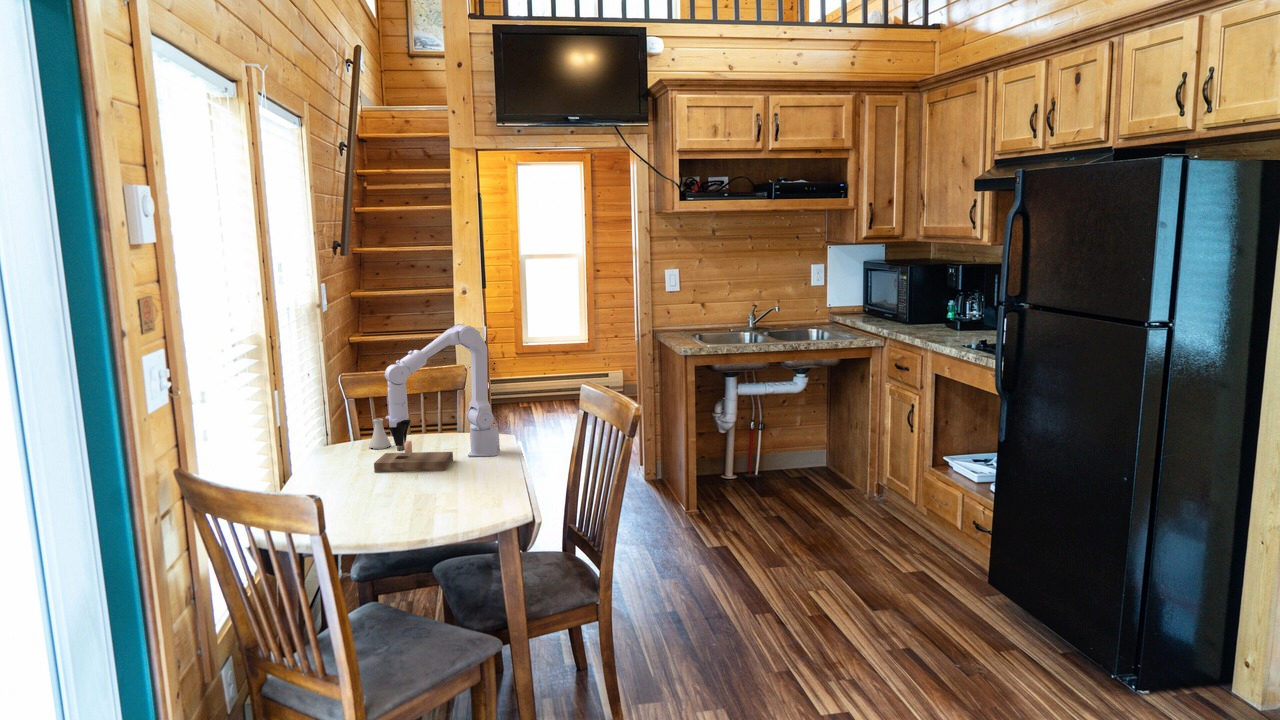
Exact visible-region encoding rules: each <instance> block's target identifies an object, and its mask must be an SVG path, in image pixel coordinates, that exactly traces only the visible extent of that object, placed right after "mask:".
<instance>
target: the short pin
mask: <svg viewBox="0 0 1280 720" xmlns="http://www.w3.org/2000/svg"><path fill="white" fill-rule="evenodd" d="M404 444H405V450H404V453H413V446H412V445H413V444H412V440H406V442H405V443H404Z"/></svg>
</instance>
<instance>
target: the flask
mask: <svg viewBox="0 0 1280 720" xmlns="http://www.w3.org/2000/svg"><path fill="white" fill-rule="evenodd" d="M372 421H373V424H374V428H373V433H372V436H371V440H370V444H369V446H368V449H371V448H373V449H372V450H383V449H388V448H390V447H391V446H392V443H391V442H390V439H389V438H388V435H387V433H386V431H385V428H384V425H383V424H384V423H383V421H384V418H375V419H372ZM390 445H391V446H390ZM389 446H390V447H389ZM387 447H388V448H387Z"/></svg>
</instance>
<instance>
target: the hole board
mask: <svg viewBox="0 0 1280 720" xmlns="http://www.w3.org/2000/svg"><path fill="white" fill-rule="evenodd" d="M453 453H454V452H453V451H423V452H422V451H421V452H420V451H419V452H418V451H417V452H412V453H405V452H386V453H383V454H382V456H380V457H379V458H378V459H377V460H376V461H375V462H373V471H374V473H402V472H404V471H415V472H445V471H446V470H447V469H448V468H449V466H450V465H451V464H452V463H453V461H454V454H453ZM451 462H452V463H451ZM450 463H451V464H450ZM404 473H405V472H404Z"/></svg>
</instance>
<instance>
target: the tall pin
mask: <svg viewBox="0 0 1280 720" xmlns="http://www.w3.org/2000/svg"><path fill="white" fill-rule="evenodd" d="M396 451H398V452H403V451H404V452H405V444H404V442H403V445H402V446H396Z"/></svg>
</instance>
